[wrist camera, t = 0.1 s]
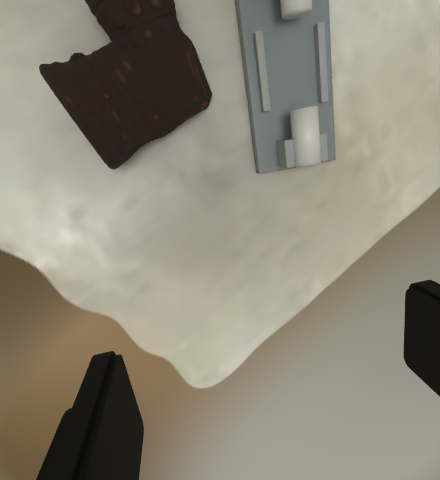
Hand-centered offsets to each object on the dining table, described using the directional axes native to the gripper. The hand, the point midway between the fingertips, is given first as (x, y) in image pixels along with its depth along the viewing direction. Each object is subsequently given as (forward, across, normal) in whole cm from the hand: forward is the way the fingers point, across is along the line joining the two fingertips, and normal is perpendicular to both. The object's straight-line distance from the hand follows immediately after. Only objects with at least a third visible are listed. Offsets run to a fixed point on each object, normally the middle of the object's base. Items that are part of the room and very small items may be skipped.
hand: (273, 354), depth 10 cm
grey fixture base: (+31, -13, -13) cm, 36 cm away
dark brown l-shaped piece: (+32, +5, -15) cm, 35 cm away
